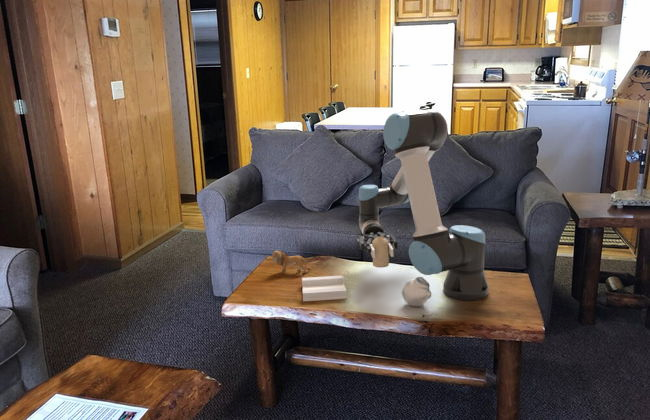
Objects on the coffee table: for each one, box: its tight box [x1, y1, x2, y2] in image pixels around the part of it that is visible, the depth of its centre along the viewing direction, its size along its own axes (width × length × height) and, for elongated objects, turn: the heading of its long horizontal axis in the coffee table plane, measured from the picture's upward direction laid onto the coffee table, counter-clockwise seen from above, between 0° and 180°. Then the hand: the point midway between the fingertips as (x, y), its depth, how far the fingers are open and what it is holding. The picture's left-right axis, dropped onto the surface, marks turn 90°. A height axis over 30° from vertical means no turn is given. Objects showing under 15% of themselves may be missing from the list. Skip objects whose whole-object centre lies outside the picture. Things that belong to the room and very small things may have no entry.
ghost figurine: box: [401, 276, 432, 307], centre depth 177 cm, size 9×10×10 cm
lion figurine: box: [271, 250, 311, 275], centre depth 209 cm, size 15×5×9 cm, turn 90°
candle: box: [372, 236, 390, 269], centre depth 184 cm, size 6×6×10 cm
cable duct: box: [301, 275, 348, 302], centre depth 191 cm, size 15×13×3 cm
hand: (383, 253), depth 179 cm, fingers closed on candle, 5 cm apart
